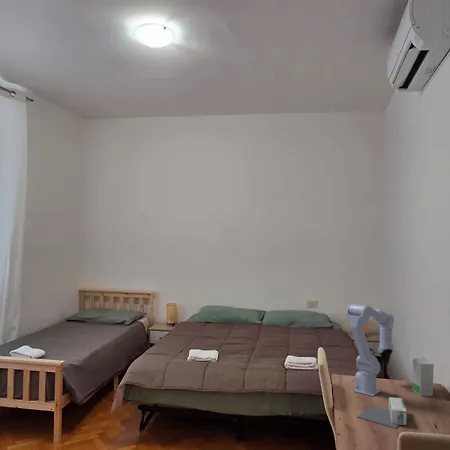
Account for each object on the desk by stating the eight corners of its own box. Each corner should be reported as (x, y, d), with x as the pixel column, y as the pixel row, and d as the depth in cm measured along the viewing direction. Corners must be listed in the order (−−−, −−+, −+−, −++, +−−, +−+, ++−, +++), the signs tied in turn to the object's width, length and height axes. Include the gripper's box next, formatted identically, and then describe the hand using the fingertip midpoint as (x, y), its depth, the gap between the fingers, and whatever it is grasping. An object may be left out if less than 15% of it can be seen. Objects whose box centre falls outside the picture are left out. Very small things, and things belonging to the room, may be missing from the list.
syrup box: (402, 411, 195) (407, 425, 181) (388, 409, 196) (391, 423, 182) (402, 398, 195) (407, 411, 181) (388, 396, 196) (391, 409, 182)
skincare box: (411, 390, 221) (411, 358, 221) (424, 389, 222) (424, 358, 222) (420, 396, 213) (420, 363, 213) (434, 396, 213) (434, 363, 213)
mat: (357, 417, 189) (357, 416, 189) (372, 406, 200) (372, 406, 200) (395, 428, 179) (395, 427, 179) (409, 416, 190) (409, 415, 190)
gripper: (387, 340, 221) (387, 368, 221) (399, 335, 232) (399, 362, 232) (373, 338, 226) (373, 365, 226) (385, 333, 237) (385, 359, 237)
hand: (385, 363), depth 229 cm, fingers closed
